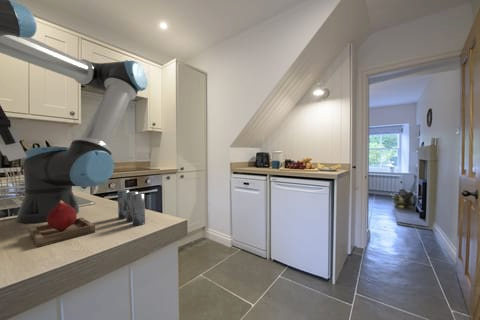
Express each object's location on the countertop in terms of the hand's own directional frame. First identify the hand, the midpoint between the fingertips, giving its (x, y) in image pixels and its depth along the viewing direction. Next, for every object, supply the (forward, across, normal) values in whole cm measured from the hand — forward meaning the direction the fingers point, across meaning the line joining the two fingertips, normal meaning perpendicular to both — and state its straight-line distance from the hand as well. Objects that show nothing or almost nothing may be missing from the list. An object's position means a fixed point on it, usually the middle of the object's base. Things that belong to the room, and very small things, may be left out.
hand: (14, 156), depth 47 cm
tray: (+22, +3, +1) cm, 22 cm away
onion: (+21, +3, +1) cm, 22 cm away
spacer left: (+27, +2, +16) cm, 32 cm away
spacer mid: (+27, +6, +17) cm, 32 cm away
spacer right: (+26, +12, +16) cm, 33 cm away
